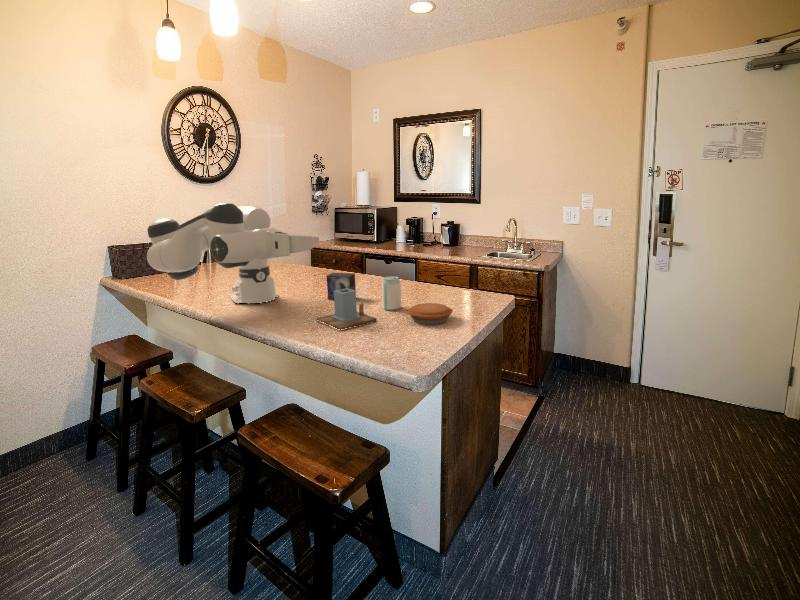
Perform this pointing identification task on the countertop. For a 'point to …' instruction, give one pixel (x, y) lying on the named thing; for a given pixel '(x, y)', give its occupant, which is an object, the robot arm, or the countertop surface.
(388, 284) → the can
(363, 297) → the countertop surface
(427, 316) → the pie
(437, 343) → the countertop surface
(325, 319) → the post base
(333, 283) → the small box
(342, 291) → the square pen holder
